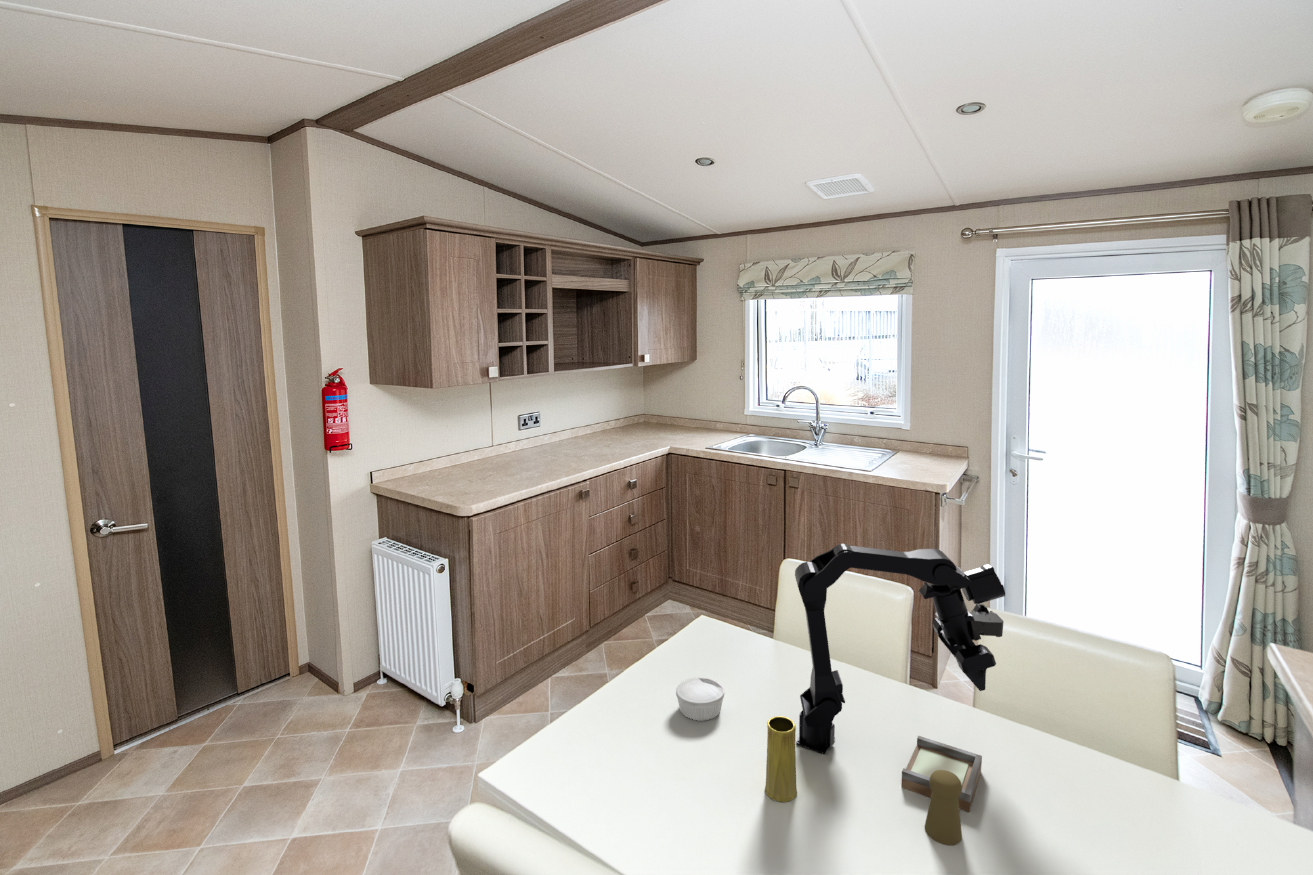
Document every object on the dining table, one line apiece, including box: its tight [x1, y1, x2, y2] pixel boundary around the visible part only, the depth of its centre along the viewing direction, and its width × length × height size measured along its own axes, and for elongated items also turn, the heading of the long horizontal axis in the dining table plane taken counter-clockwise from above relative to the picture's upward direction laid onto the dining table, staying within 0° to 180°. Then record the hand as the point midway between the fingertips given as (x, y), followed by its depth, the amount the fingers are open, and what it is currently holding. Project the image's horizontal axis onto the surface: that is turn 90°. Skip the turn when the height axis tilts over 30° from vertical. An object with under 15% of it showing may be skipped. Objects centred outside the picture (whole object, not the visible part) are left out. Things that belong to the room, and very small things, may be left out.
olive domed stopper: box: [924, 770, 963, 846], centre depth 113 cm, size 6×6×11 cm
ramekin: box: [675, 677, 725, 722], centre depth 152 cm, size 11×11×5 cm
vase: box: [764, 715, 798, 803], centre depth 124 cm, size 6×6×14 cm
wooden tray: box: [900, 735, 983, 813], centre depth 126 cm, size 12×13×4 cm
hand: (973, 677), depth 133 cm, fingers open, 9 cm apart
